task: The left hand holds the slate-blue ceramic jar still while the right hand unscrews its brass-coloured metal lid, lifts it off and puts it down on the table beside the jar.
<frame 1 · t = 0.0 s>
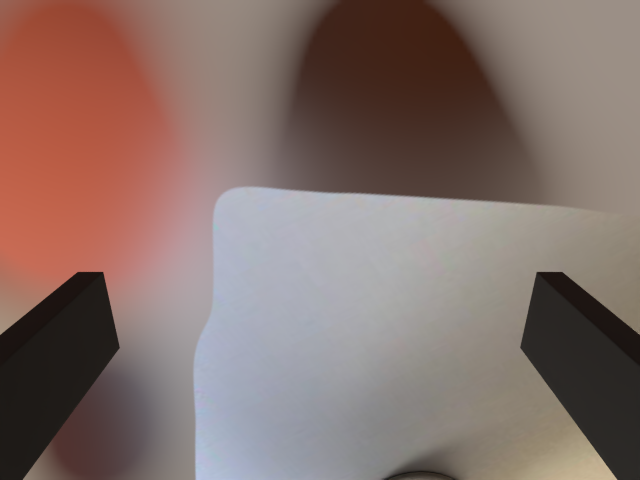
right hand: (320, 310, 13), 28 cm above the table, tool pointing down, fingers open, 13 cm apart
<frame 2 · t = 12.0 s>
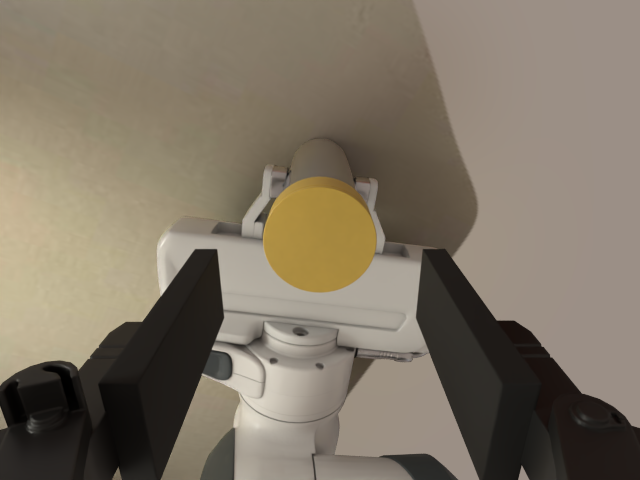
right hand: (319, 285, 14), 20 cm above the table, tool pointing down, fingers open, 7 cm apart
left hand: (321, 173, 27), fingers closed on jar, 4 cm apart
jar: (319, 166, 33), on the table, touching left hand
lid: (319, 239, 18), point 16 cm above the table, screwed on, not yet turned
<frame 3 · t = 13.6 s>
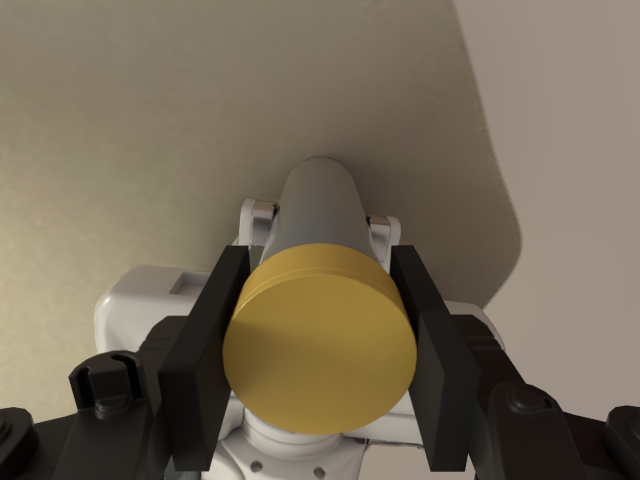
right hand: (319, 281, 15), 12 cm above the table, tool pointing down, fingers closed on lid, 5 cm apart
jar: (319, 193, 25), on the table, touching left hand
lid: (319, 353, 11), point 16 cm above the table, screwed on, not yet turned, touching right hand
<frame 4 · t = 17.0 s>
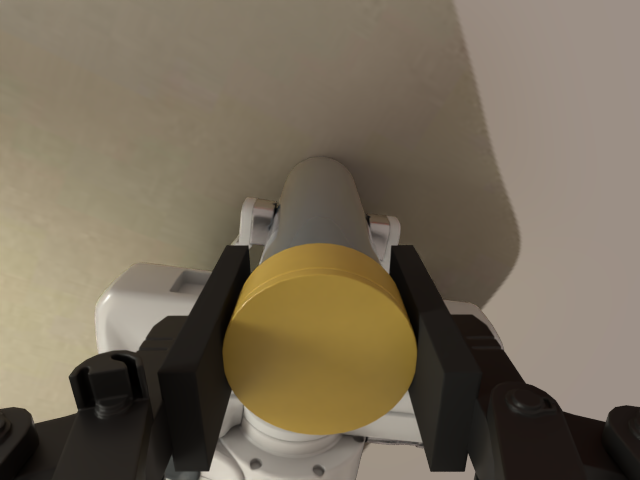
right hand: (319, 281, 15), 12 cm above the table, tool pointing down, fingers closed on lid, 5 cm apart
jar: (319, 192, 25), on the table, touching left hand
lid: (319, 353, 11), point 16 cm above the table, turned 104° so far, risen 0.1 cm, still on its thread, touching right hand
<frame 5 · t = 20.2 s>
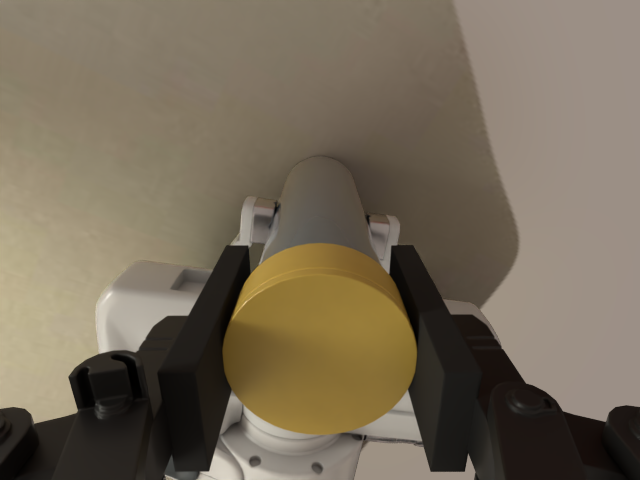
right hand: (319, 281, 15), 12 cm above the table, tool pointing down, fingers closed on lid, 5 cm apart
jar: (319, 191, 26), on the table, touching left hand
lid: (319, 353, 11), point 16 cm above the table, turned 208° so far, risen 0.3 cm, still on its thread, touching right hand
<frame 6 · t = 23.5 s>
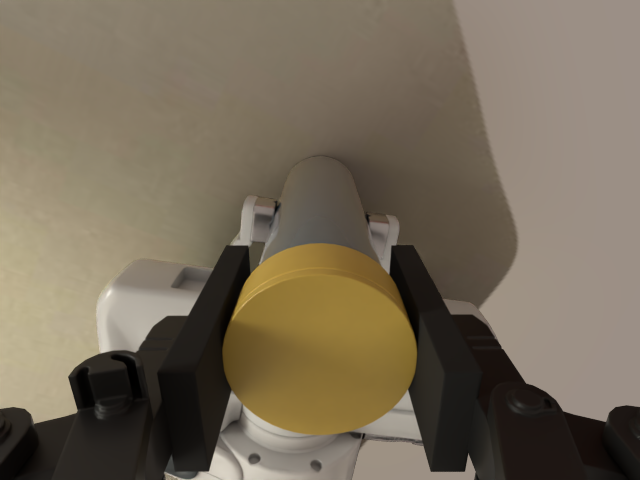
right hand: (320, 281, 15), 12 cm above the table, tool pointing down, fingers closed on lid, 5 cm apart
jar: (319, 191, 26), on the table, touching left hand
lid: (319, 353, 11), point 16 cm above the table, turned 313° so far, risen 0.4 cm, still on its thread, touching right hand
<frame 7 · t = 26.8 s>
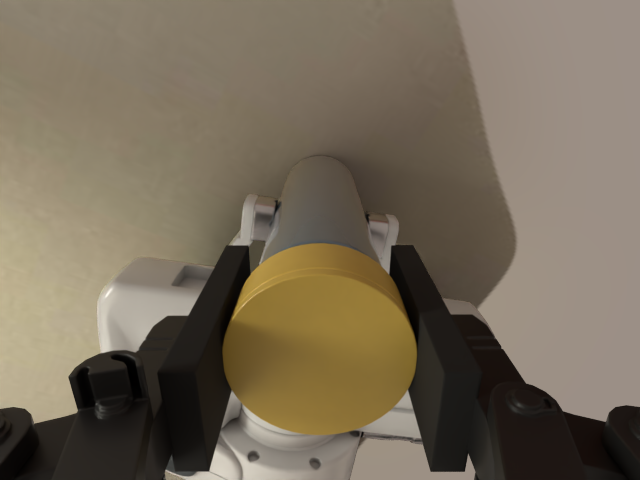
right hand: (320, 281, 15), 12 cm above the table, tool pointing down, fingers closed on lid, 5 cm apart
jar: (319, 190, 26), on the table, touching left hand
lid: (319, 353, 11), point 16 cm above the table, turned 417° so far, risen 0.5 cm, still on its thread, touching right hand
when the right hand's fingers open (0 cm above the table, at t = 35.0 s): lid drops 3 cm, point 2 cm above the table.
when the left hand's fingers open (6 cm above the table, at t = 35.6 s): jar stays where it is, on the table.
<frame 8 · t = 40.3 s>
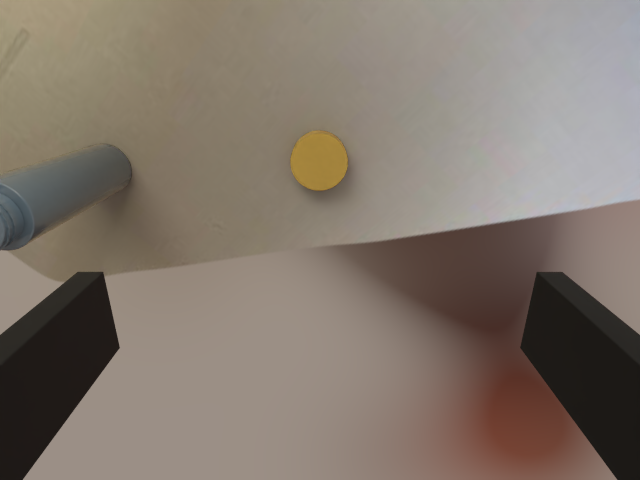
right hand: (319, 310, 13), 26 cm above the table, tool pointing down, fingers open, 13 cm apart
jar: (107, 168, 38), on the table
lid: (319, 161, 36), point 2 cm above the table, off its thread
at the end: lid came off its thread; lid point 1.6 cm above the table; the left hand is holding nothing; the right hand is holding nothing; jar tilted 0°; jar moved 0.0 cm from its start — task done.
